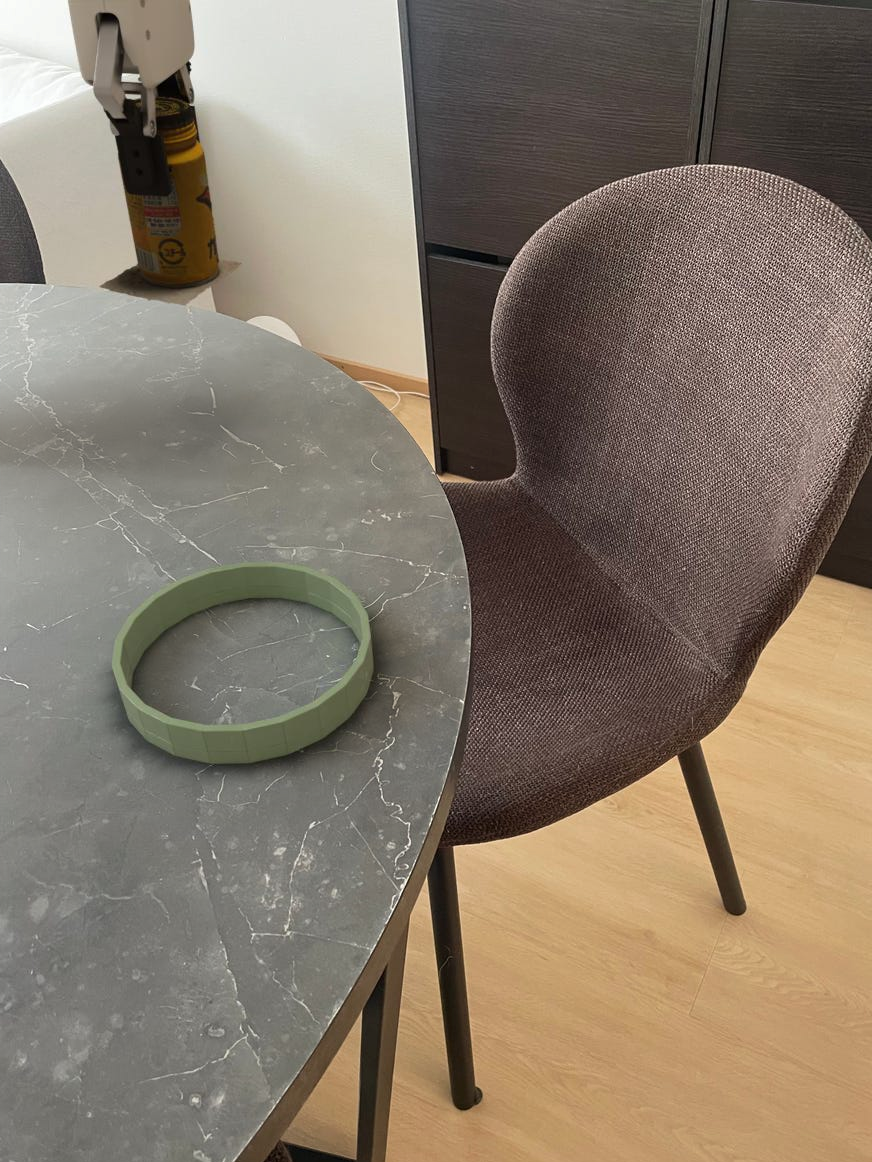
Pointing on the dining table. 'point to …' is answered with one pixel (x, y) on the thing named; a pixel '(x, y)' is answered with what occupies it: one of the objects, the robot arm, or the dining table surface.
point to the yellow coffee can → (174, 220)
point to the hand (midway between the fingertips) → (165, 175)
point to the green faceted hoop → (261, 735)
